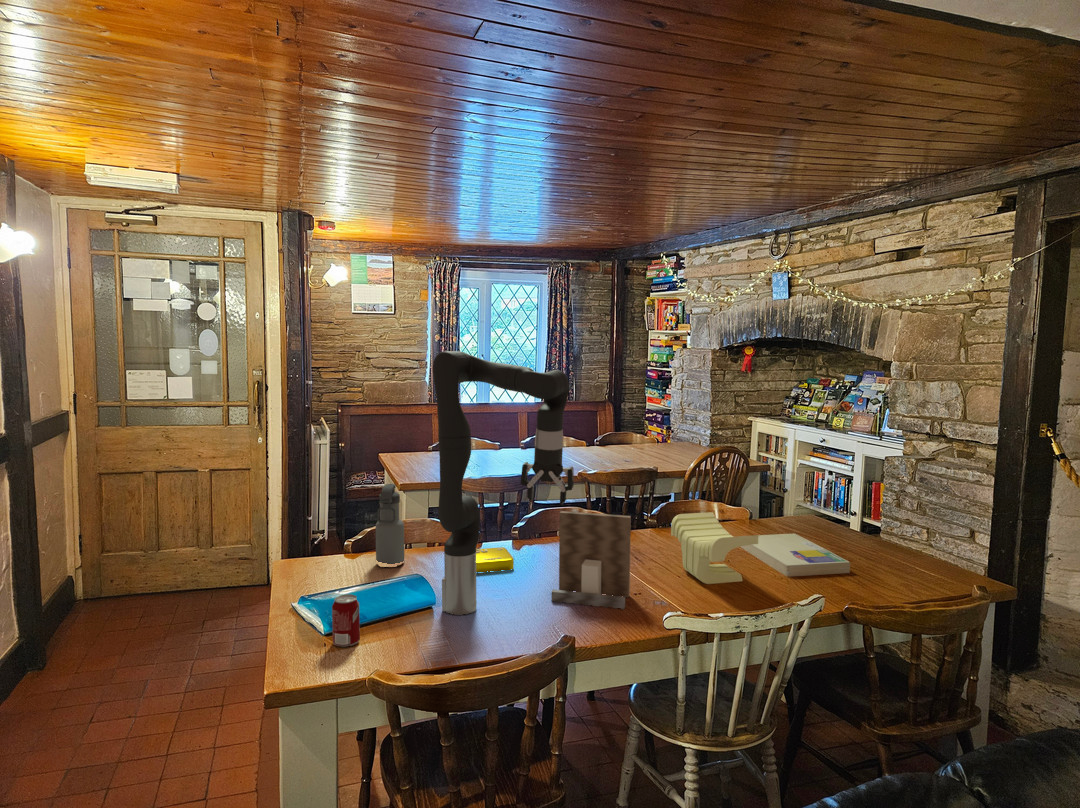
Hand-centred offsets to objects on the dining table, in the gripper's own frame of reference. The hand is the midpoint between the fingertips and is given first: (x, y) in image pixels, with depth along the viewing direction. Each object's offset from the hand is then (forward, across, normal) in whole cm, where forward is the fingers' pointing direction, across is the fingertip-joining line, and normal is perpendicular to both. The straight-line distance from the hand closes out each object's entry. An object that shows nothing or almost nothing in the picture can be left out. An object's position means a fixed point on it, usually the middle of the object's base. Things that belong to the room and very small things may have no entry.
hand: (546, 501), depth 186 cm
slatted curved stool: (+38, -48, -46) cm, 77 cm away
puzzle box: (+40, -77, -72) cm, 113 cm away
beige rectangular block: (+36, -12, -18) cm, 42 cm away
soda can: (+34, +46, +28) cm, 64 cm away
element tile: (+42, +27, -40) cm, 64 cm away
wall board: (+36, -12, -17) cm, 42 cm away
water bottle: (+43, +61, -32) cm, 82 cm away
